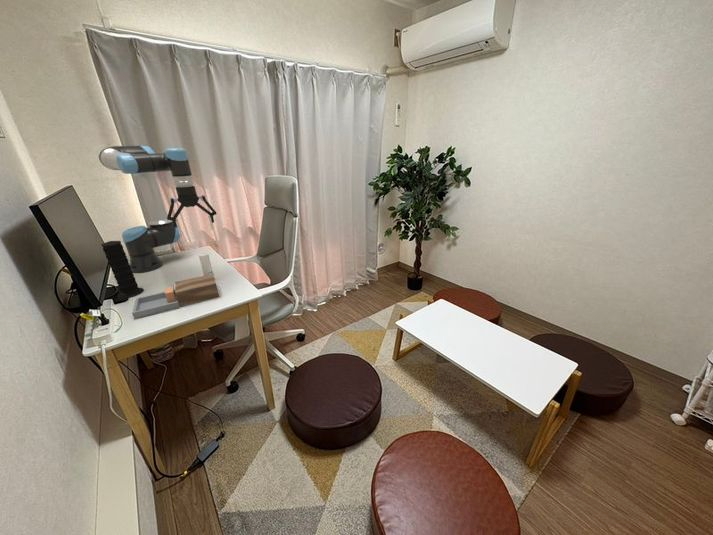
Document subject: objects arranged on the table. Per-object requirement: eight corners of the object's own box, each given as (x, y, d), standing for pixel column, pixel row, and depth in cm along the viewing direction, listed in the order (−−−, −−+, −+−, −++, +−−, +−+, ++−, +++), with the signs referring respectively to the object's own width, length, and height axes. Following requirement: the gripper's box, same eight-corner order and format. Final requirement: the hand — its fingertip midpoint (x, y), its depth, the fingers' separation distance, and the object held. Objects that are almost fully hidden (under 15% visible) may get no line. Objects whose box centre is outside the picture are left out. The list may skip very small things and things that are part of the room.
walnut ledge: (179, 295, 130) (175, 282, 127) (216, 286, 137) (213, 274, 134) (179, 306, 120) (175, 293, 117) (219, 297, 128) (216, 283, 125)
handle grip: (132, 298, 127) (149, 288, 136) (110, 245, 116) (130, 237, 125) (112, 298, 128) (130, 287, 137) (89, 244, 117) (110, 237, 126)
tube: (206, 284, 140) (199, 256, 134) (205, 281, 143) (198, 254, 137) (215, 281, 142) (209, 254, 136) (214, 278, 145) (207, 252, 139)
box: (138, 303, 123) (135, 298, 122) (179, 294, 131) (177, 288, 129) (134, 319, 112) (131, 313, 111) (179, 307, 120) (177, 302, 118)
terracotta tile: (176, 297, 127) (169, 299, 125) (173, 286, 124) (165, 287, 123) (176, 303, 122) (168, 305, 121) (172, 291, 119) (164, 293, 118)
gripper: (150, 189, 114) (165, 238, 123) (216, 184, 126) (226, 229, 134) (151, 187, 120) (166, 233, 129) (214, 182, 132) (223, 225, 140)
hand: (196, 231), depth 132 cm, fingers open, 13 cm apart
